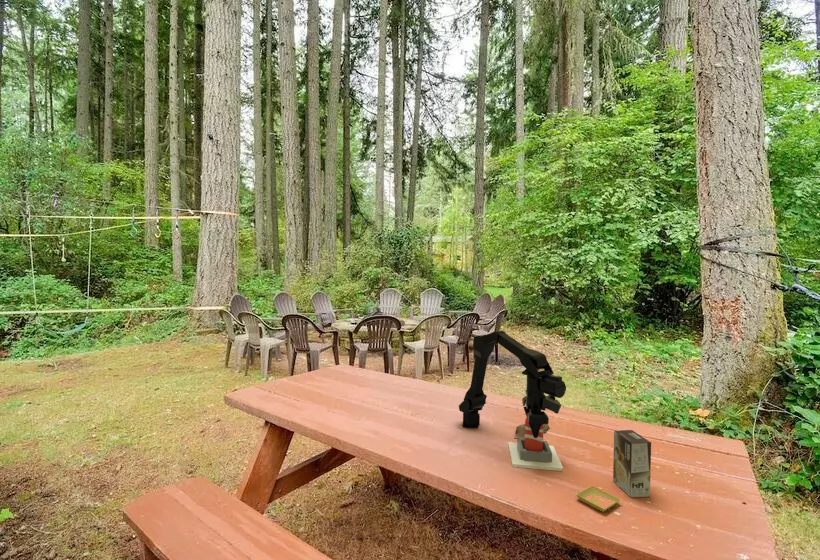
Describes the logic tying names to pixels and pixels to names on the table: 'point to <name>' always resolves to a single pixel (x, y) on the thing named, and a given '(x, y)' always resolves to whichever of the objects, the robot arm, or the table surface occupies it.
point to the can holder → (534, 457)
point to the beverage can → (532, 442)
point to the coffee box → (632, 463)
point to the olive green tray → (598, 492)
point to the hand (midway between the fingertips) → (534, 433)
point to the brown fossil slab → (521, 431)
